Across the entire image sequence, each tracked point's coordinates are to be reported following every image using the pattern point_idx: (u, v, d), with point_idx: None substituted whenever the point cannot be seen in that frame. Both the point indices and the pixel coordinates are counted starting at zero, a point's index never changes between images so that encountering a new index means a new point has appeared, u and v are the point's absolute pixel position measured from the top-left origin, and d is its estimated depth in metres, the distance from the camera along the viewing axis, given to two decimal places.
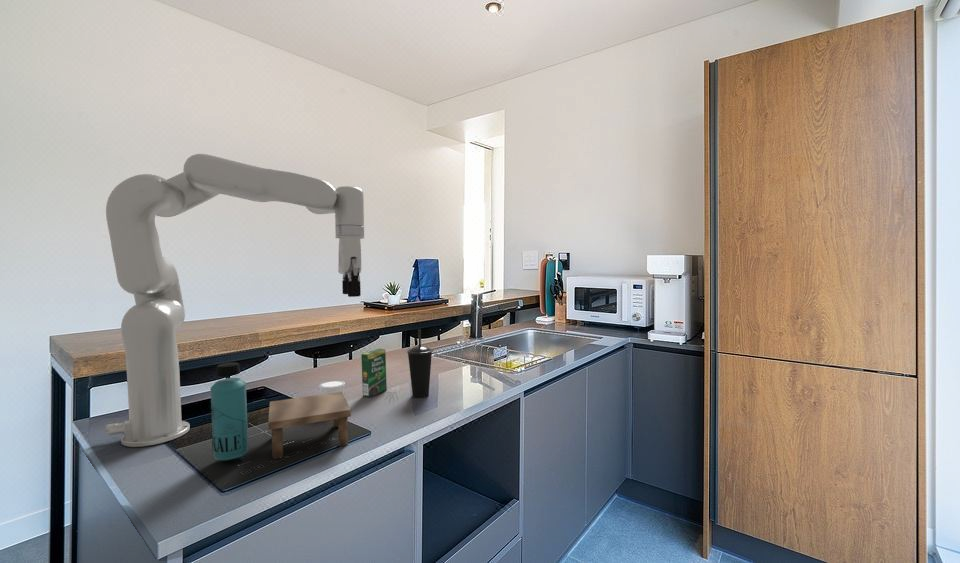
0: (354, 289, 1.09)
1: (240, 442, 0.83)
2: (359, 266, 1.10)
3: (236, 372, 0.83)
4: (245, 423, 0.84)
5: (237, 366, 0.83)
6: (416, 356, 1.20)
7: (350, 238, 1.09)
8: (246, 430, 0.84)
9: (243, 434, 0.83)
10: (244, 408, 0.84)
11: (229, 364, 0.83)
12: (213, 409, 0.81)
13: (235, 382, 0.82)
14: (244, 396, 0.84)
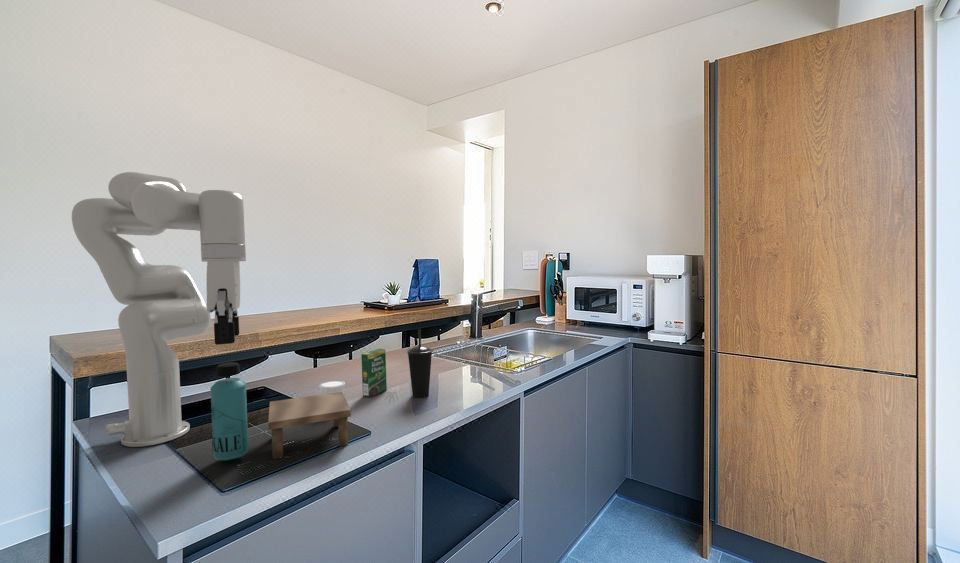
0: (223, 334, 0.77)
1: (240, 442, 0.83)
2: (232, 301, 0.79)
3: (235, 372, 0.83)
4: (245, 423, 0.84)
5: (237, 366, 0.83)
6: (416, 356, 1.20)
7: (217, 262, 0.78)
8: (246, 430, 0.84)
9: (243, 434, 0.83)
10: (244, 408, 0.84)
11: (229, 364, 0.83)
12: (213, 409, 0.81)
13: (235, 382, 0.82)
14: (244, 396, 0.84)
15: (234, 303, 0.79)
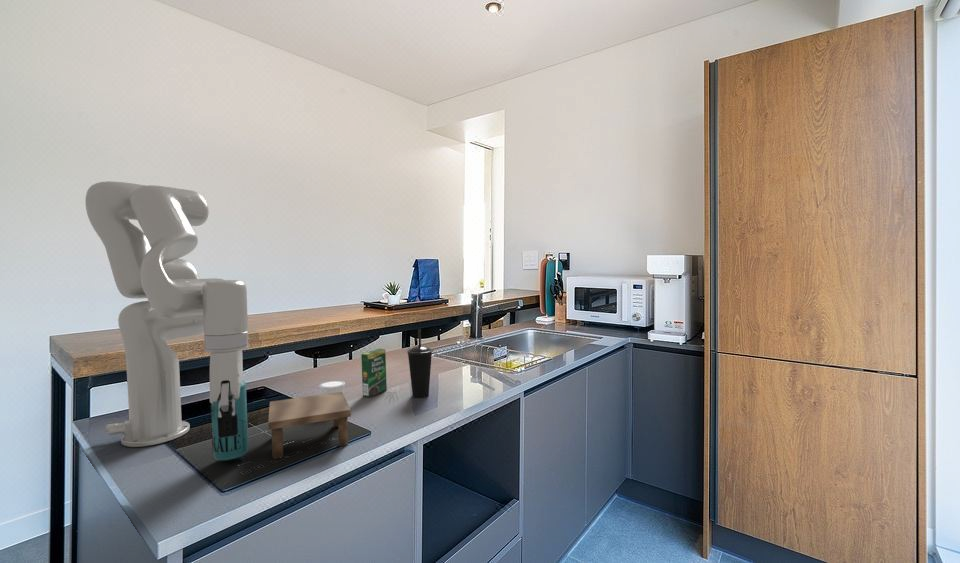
0: (227, 427, 0.80)
1: (240, 442, 0.83)
2: (234, 392, 0.80)
3: None
4: (245, 423, 0.84)
5: None
6: (416, 356, 1.20)
7: (220, 355, 0.79)
8: (246, 430, 0.84)
9: (243, 434, 0.83)
10: (244, 408, 0.84)
11: None
12: (213, 409, 0.81)
13: None
14: (244, 396, 0.84)
15: (237, 394, 0.80)
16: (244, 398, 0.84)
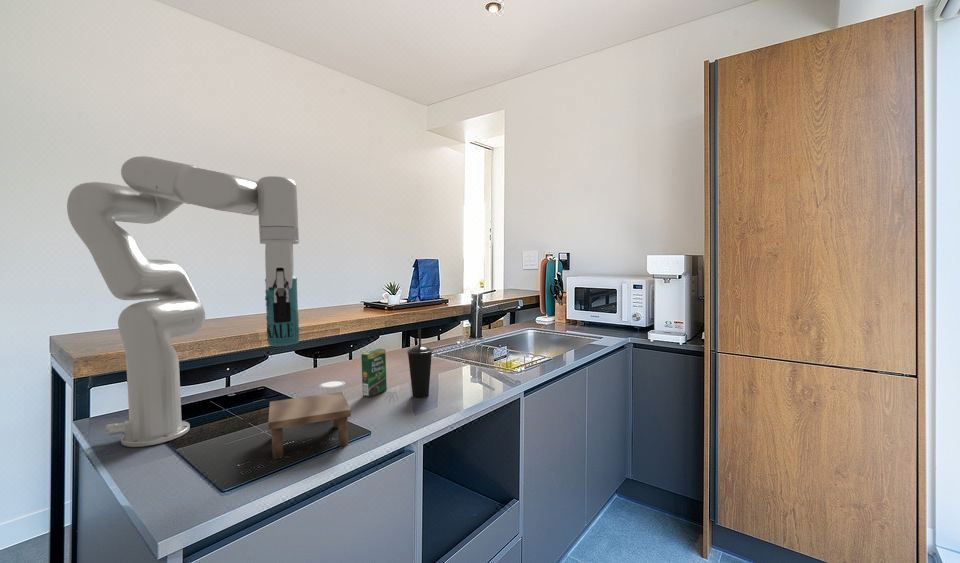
0: (281, 313, 0.85)
1: (292, 331, 0.88)
2: (288, 280, 0.85)
3: None
4: (296, 314, 0.89)
5: None
6: (416, 356, 1.20)
7: (275, 243, 0.84)
8: (297, 321, 0.89)
9: (295, 324, 0.88)
10: (296, 300, 0.89)
11: None
12: (268, 298, 0.86)
13: None
14: (295, 288, 0.89)
15: (290, 281, 0.85)
16: (295, 290, 0.89)
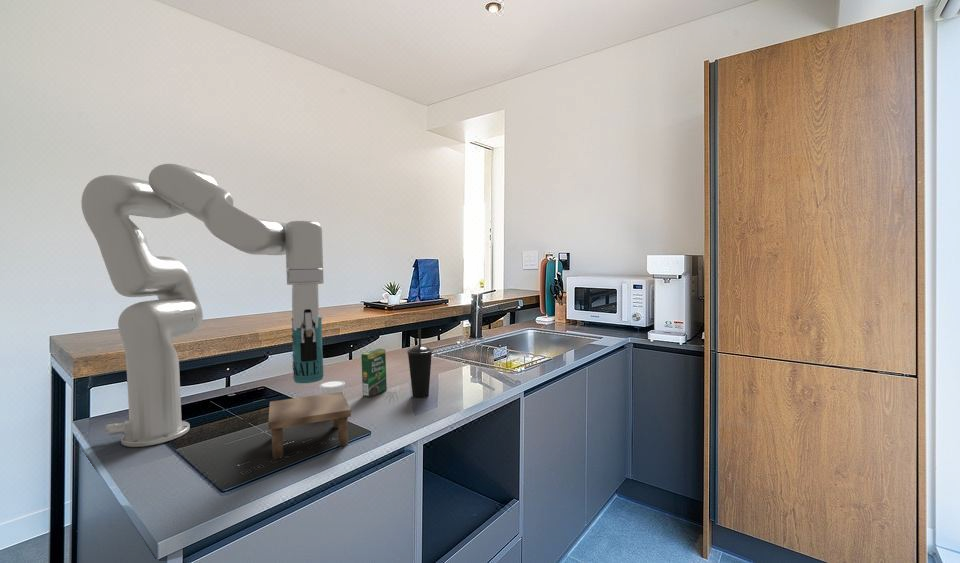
0: (308, 352, 0.88)
1: (318, 368, 0.91)
2: (315, 320, 0.88)
3: None
4: (321, 352, 0.93)
5: None
6: (416, 356, 1.20)
7: (303, 286, 0.87)
8: (322, 358, 0.93)
9: (320, 361, 0.92)
10: (321, 338, 0.92)
11: None
12: (295, 337, 0.90)
13: None
14: (320, 327, 0.92)
15: (317, 322, 0.89)
16: (320, 329, 0.92)
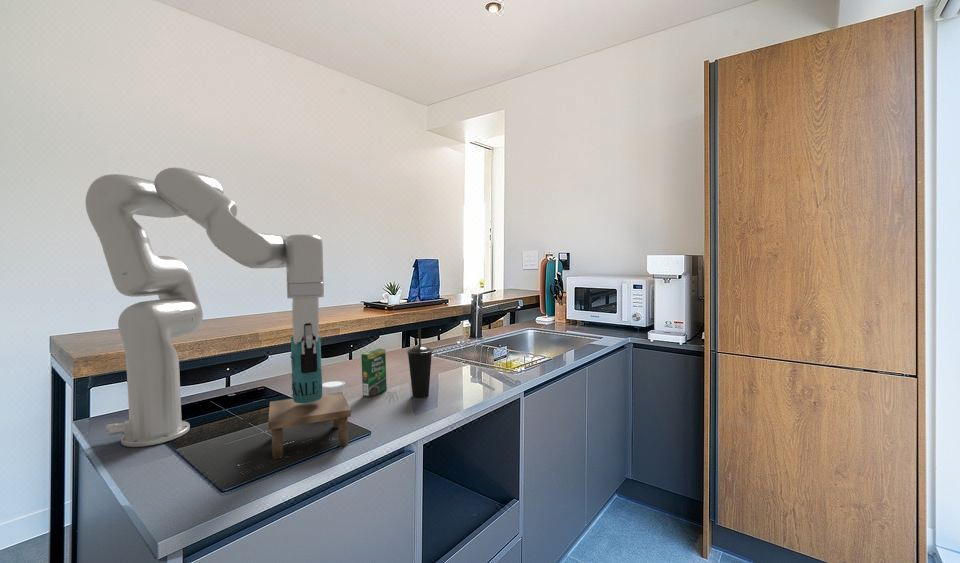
0: (309, 364, 0.87)
1: (317, 388, 0.91)
2: (315, 334, 0.88)
3: None
4: (320, 371, 0.93)
5: None
6: (416, 356, 1.20)
7: (304, 300, 0.87)
8: None
9: (319, 381, 0.92)
10: (320, 357, 0.93)
11: None
12: (294, 357, 0.90)
13: None
14: (319, 346, 0.93)
15: (317, 336, 0.89)
16: (319, 348, 0.93)
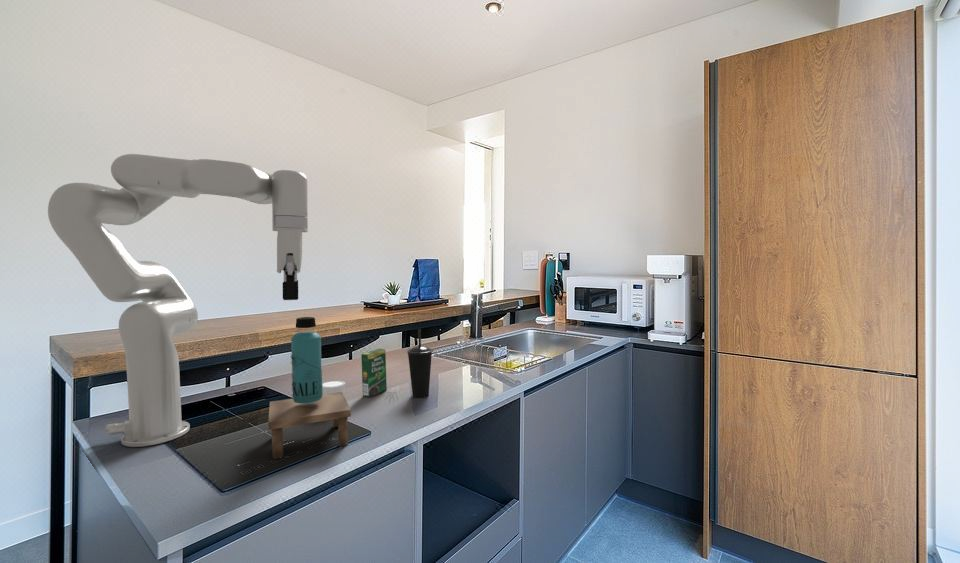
0: (290, 291, 0.92)
1: (317, 388, 0.91)
2: (297, 264, 0.93)
3: (313, 325, 0.91)
4: (320, 371, 0.93)
5: (314, 319, 0.92)
6: (416, 356, 1.20)
7: (287, 231, 0.93)
8: (321, 378, 0.93)
9: (319, 381, 0.92)
10: (320, 358, 0.93)
11: (307, 317, 0.92)
12: (294, 357, 0.90)
13: (313, 333, 0.91)
14: (320, 347, 0.93)
15: (299, 266, 0.94)
16: (320, 349, 0.93)
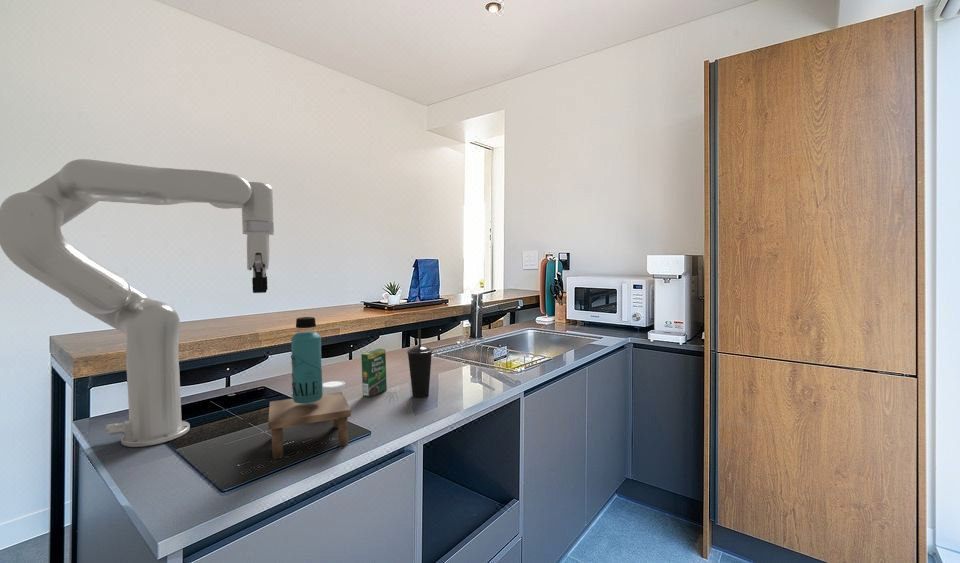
0: (259, 285, 1.08)
1: (317, 388, 0.91)
2: (265, 262, 1.09)
3: (313, 325, 0.91)
4: (321, 371, 0.93)
5: (314, 319, 0.92)
6: (416, 356, 1.20)
7: (255, 234, 1.08)
8: (321, 378, 0.93)
9: (319, 381, 0.92)
10: (320, 358, 0.92)
11: (307, 317, 0.92)
12: (294, 357, 0.90)
13: (313, 333, 0.91)
14: (320, 347, 0.93)
15: (266, 264, 1.10)
16: (320, 349, 0.93)
